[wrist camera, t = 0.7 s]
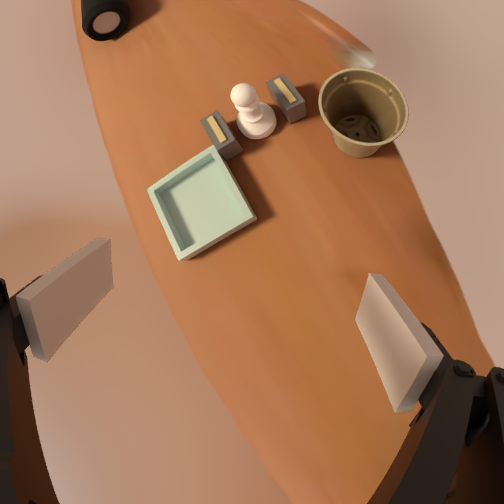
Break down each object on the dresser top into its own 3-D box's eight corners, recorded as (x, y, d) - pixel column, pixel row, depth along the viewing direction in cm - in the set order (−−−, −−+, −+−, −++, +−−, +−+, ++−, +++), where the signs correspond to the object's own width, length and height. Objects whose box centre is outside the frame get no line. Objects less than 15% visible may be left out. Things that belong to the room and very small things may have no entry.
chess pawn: (284, 117, 36) (273, 82, 27) (261, 146, 37) (244, 116, 28) (254, 101, 37) (236, 65, 28) (232, 128, 38) (208, 97, 29)
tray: (257, 219, 37) (253, 216, 34) (187, 260, 39) (178, 260, 36) (219, 150, 38) (213, 144, 35) (156, 193, 40) (146, 189, 37)
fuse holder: (307, 115, 35) (304, 99, 31) (227, 160, 38) (215, 149, 33) (287, 89, 36) (283, 72, 32) (211, 132, 38) (199, 119, 34)
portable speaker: (94, 4, 47) (73, -15, 37) (125, -18, 45) (106, -39, 36) (101, 52, 45) (72, 28, 35) (141, 24, 43) (115, -4, 33)
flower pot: (304, 133, 35) (298, 100, 27) (353, 91, 34) (358, 54, 26) (357, 185, 34) (368, 164, 26) (405, 140, 33) (425, 110, 24)
